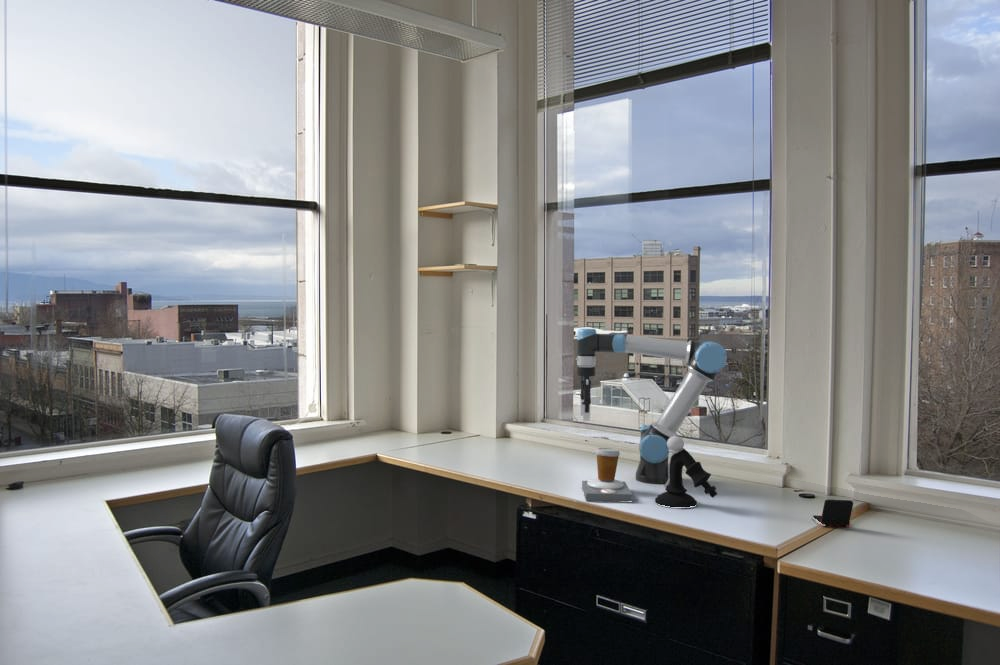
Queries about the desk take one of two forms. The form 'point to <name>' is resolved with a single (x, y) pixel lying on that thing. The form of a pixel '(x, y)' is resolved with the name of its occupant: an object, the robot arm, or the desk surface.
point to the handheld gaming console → (836, 513)
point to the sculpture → (674, 484)
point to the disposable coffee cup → (607, 463)
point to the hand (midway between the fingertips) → (585, 418)
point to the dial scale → (606, 490)
